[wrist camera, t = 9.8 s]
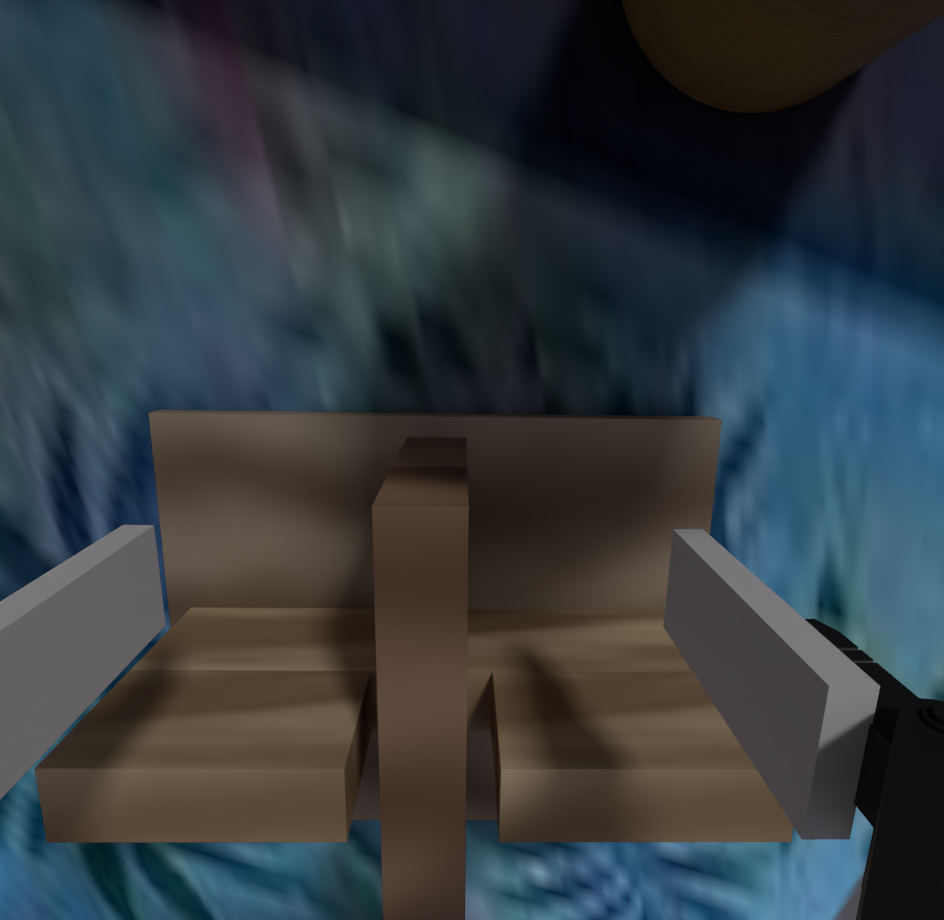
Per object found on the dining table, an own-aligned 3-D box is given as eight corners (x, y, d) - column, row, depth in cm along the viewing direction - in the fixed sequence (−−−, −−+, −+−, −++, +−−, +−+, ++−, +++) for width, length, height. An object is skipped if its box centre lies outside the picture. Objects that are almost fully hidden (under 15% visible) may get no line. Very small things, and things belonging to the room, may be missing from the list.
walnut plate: (407, 437, 25) (372, 506, 15) (466, 437, 25) (468, 506, 15) (412, 801, 29) (386, 1040, 19) (463, 800, 29) (463, 1039, 19)
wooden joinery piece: (160, 409, 26) (-56, 467, 15) (712, 416, 26) (885, 477, 15) (199, 804, 30) (53, 1068, 19) (672, 804, 31) (786, 1063, 20)
